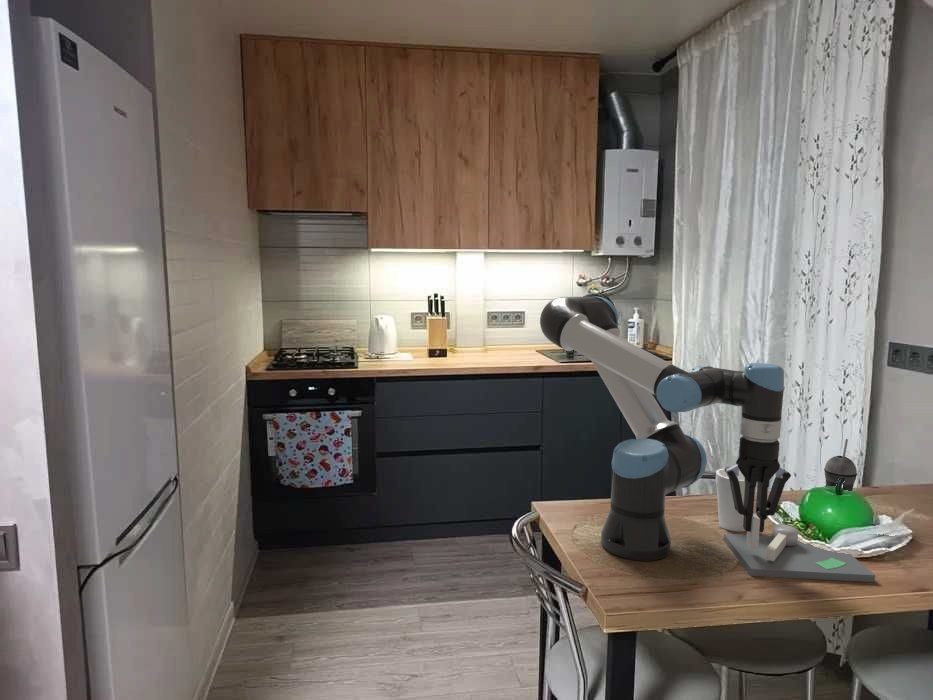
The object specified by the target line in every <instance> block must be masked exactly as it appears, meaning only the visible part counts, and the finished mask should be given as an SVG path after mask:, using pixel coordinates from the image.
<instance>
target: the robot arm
mask: <svg viewBox="0 0 933 700" xmlns="http://www.w3.org/2000/svg"><path fill="white" fill-rule="evenodd" d="M619 318H620V316H619V313H618V311H617V308H616V307H615V305H614V304H613V303H612V302H611V301H610V300H608V299H607V298H604V297H603V296H602V297H601V296H596V295H586V296H585V295H584V296H560V297H556V298H554V299H552V300H550V301H549V302H548V303H547V304H545V306H544V308H543V309H542V311H541V313H540V317H539V324H540V329H541V332H542V334H543V335H544V336H545V338H546V339H547V340H548V341H550V342H551V343H552V344H554V345H556V346H557V347H559V348H561V349H562V350H563V351H566V352H572V351H574V352H577V353H579V354H580V355H582V356H584V357H586V358H588V359H589V360H590V361H591V362H592V364H593V366H594V367H595V370H596V371H597V374H599V376H600V378H601V379H602V381H603V383H604V385H605V386H606V388H607V389H608V391H609V393H610V395H611V396H612V398H613V400H614V401H615V404H616V405H617V407H618V408H619V410H620V412H621V413H622V416H623V417H624V419H625V420H626V422H627V424H628V426H629V427H630V429H631V430H632V433H633V434H634V435H635V438H630V439H626V440H623V441H621V442H619V443H618V444H617V445H616V446H615V447H614V449H613V454H612V459H611V486H610V487H611V488H610V508H609V513H608V515H607V517H606V520H605V522H604V524H603V527H602V529H601V532H600V533H601V534H600V544H601V546H602V547H603V548H604V549H605V550H606V551H608V552H609V553H611V554H613V555H615V556H617V557H620V558H623V559H627V560H632V561H633V560H634V561H641V562H642V561H644V562H645V561H646V562H647V561H648V562H649V561H656V560H663V559H664V558H666V557H668V556H669V555H670V554H671V549H672V539H671V535H670V533H669V528H668V524H667V521H666V518H665V507H666V495H669V494H670V493H672V492H675V491H677V490H680V489H683V488H684V489H685V488H688V487H689V486H692V485H693V484H694V483H696V482H697V481H699V480H700V479H701V478H702V477H703V475H704V473H705V472H706V467H707V459H708V458H707V454H706V450H705V448H704V446H703V445H702V444H701V442H700V441H699V440H698V439H697V438H695V437H694V436H691V435H689V434H686V433H684V430H682V428H681V426H680V425H679V423H677V422H676V421H671V420H669V419H668V418H667V416H666V415H665V412H664V411H663V409H665V410H666V411H667V412H671V413H686V412H690V411H692V410H696V409H699V408H704V407H708V406H712V405H715V404H722V405H728V406H735V407H741V418H740V419H741V420H740V421H741V423H740V433H739V434H740V435H741V437H740V438H739V447H738V448H739V449H738V458H737V459H736V461H735V464H734V465H732V466H731V467H729V466H728V467H727V466H726V467H725V468H724V469H725V472H726V474H727V475H728V477H729V480H730V486H731V491H732V496H733V501H734V507H735V509H736V510H737V512H738V513H739V514H741V515H744V519H743V528H744V529H745V531H746V535H747V539H746V543H747V544H748V545H749V546H750V548H758V543H759V535H760V533H763V532H764V531H765V520H767V519H768V517H769V516H775V514H776V511H777V510H778V509H777V508H778V506H779V503H780V500H781V498H782V494H783V491H784V488H785V484H786V483H787V482H788V481H789V479H790V478H791V476H792V474H791V473H790V472H789V471H788V470H786V469H783V468H782V467H781V464H780V462H779V455H780V441H779V439H780V438H781V429H782V428H781V427H782V414H783V413H782V412H783V411H782V410H783V404H784V403H783V402H784V391H785V388H786V387H785V371H784V368H783V367H781V366H780V365H778V364H773V363H763V362H761V363H760V362H751V363H747V364H746V365H745V366H744V370H742V371H741V370H732V369H725V368H720V367H713V366H709V365H707V366H701V365H698V366H693V368H692V369H691V370H690V371H689V372H688V371H686V370H684V369H683V368H680V367H678V366H676V365H674V364H673V363H671V362H668V361H666V360H664V359H663V358H661V357H659V356H657V355H655V354H652V353H651V352H649V351H647V350H645V349H643V348H641V347H639V346H637V345H636V344H635V345H634V343H631V342H630V341H627V340H625V339H623V338H622V337H620V335H621V330H620V328H619V325H620V324H619ZM654 396H656V398H655V397H654ZM656 399H657V400H656ZM657 401H658V402H657ZM659 404H660V405H661V407H662V408H663V409H662V408H661V407H660V405H659ZM739 470H740V471H741V473H742V474H743V476H744V477H745V492H744V506H743V501H742V495H741V490H740V485H739V480H738V478H737V477H738V476H739V473H738V471H739ZM774 475H775V478H774V479H773V482H772V486H771V488H770V491H769V487H770V480H771V479H772V477H774ZM756 483H758V485H757V489H756V492H755V487H756ZM768 492H769V495H768ZM755 496H756V498H755ZM755 500H756V503H755ZM754 507H755V513H754ZM745 531H744V532H745Z"/></svg>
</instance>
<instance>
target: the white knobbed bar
mask: <svg viewBox="0 0 933 700" xmlns="http://www.w3.org/2000/svg"><path fill="white" fill-rule="evenodd" d="M771 533H772V534H771V536H772V540H773V541H772V542H771V543H770V544H769V546H768V547H767V548H766V559H767V560H770V561H775V559H776V558H777V557H778V555H779V554H780V553H781V551H782V550H783V548H784V547H785V546H786V545H787V546H794V545H796V544H797V539H798V537H799V530H798V529H797V528H796V527H794V526H791V525H788V524H781V523H780V524H779V523H777V524H774V525H772V532H771Z"/></svg>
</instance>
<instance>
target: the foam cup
mask: <svg viewBox="0 0 933 700" xmlns="http://www.w3.org/2000/svg"><path fill="white" fill-rule="evenodd" d="M715 471H716V472H715V484H716V499H717V512H718V513H717V514H718V523H719V524H718V525H719V526H720V527H721V528H722V529H725V530H726V531H727V530H728V531H732V532H745V529H744V528H743V519H744V515H741V514H739V513H738V512H737V510H736V509H735V507H734V501H733V496H732V491H731V486H730V480H729V477H728V475H727V474H726V472H725V468H719V469H717V470H715ZM738 473H739V476H738V477H737V478H738V480H739V485H740V490H741V495H742V501H743V506H744V492H745V477H744V476H743V474H742V473H741V471H740V470H739V471H738ZM757 485H758V483H756V487H755V493H757Z"/></svg>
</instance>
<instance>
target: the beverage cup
mask: <svg viewBox="0 0 933 700" xmlns="http://www.w3.org/2000/svg"><path fill="white" fill-rule="evenodd" d="M844 440H845V442H844V446H843V452H842V455H835V456H832V457H831V458H829V459H828V460H827V461H826V463H825V464H824V465H825V466H824V468H823V470H824V477H825V488H826V487H827V486H836V484H837V481H838V479H839V478H846V480H845V482H844V483H843V489H844V490H848V491H852V492H853V489H854V485H855V483H856V481H857V480H856V479H857V476H858V473H857V471H858V469H857V467H856V464H855V463H854V462H853V460H852V459H850V458H849V457H847V456H846V452H847V448H848V441H849V439H848V438H845V439H844Z"/></svg>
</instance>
